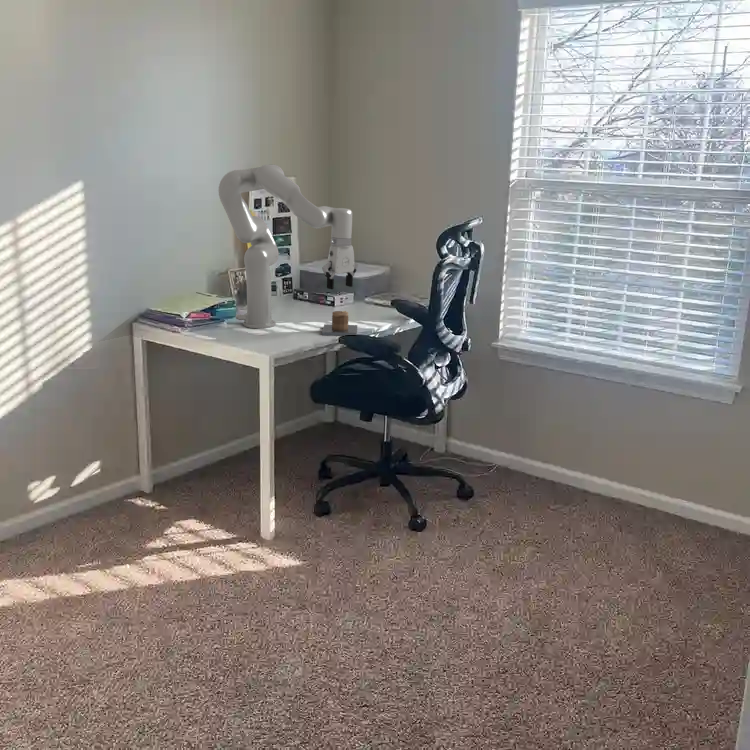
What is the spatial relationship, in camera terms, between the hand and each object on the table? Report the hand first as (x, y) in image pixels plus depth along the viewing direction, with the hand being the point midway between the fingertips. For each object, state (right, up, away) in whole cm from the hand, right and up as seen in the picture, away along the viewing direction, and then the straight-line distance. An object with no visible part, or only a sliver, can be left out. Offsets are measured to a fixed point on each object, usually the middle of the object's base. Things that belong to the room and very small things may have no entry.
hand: (339, 287), depth 312 cm
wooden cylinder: (0, -15, +4) cm, 16 cm away
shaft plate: (0, -16, +5) cm, 17 cm away
